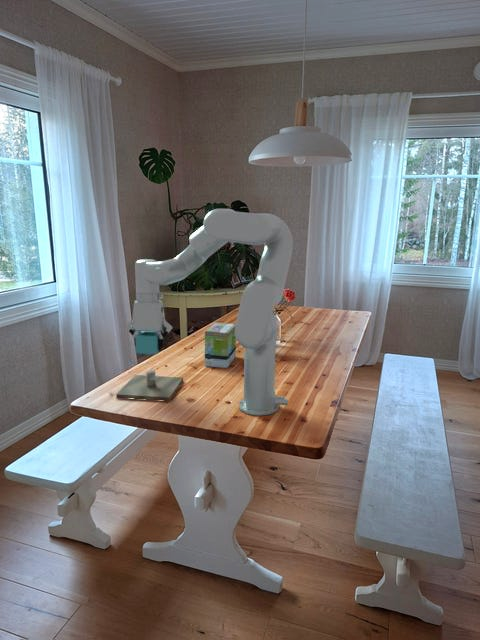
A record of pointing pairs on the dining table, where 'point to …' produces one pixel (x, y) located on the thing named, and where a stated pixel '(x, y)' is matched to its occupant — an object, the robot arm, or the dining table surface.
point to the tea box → (220, 345)
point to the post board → (150, 387)
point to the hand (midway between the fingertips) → (149, 348)
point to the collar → (147, 342)
